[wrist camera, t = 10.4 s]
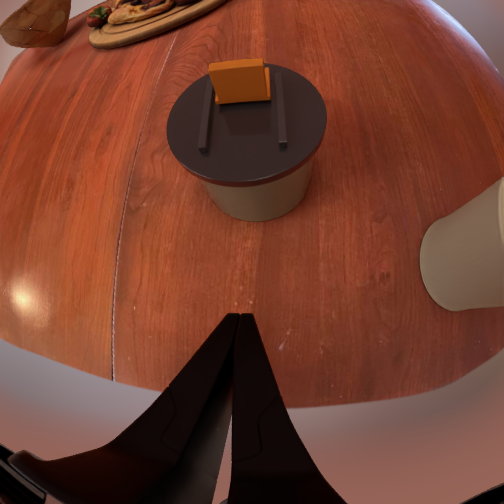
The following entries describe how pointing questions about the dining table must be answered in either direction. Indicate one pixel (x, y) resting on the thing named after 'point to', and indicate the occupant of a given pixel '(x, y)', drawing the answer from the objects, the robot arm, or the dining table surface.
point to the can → (467, 254)
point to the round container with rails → (250, 144)
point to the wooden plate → (141, 19)
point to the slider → (240, 80)
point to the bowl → (37, 24)
